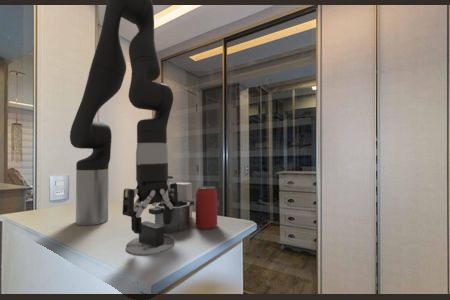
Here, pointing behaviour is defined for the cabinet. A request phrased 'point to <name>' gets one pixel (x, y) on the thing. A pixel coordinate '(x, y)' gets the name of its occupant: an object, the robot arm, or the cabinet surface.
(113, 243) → the cabinet surface
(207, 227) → the beer can
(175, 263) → the cabinet surface
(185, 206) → the pot
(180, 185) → the skincare box
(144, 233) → the lid
